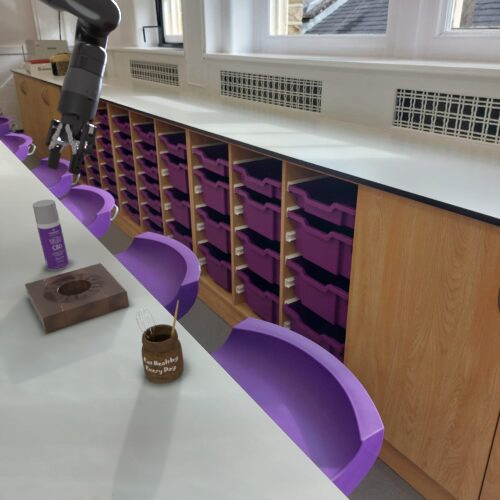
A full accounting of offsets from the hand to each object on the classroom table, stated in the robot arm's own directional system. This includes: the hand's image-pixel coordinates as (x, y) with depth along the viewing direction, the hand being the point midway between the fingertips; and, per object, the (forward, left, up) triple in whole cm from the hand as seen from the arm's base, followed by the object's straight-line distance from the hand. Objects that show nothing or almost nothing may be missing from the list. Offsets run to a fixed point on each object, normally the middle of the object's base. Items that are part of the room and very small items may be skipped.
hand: (62, 171), depth 102 cm
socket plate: (-6, -19, -21) cm, 29 cm away
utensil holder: (-1, -48, -21) cm, 52 cm away
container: (-5, 0, -21) cm, 22 cm away
